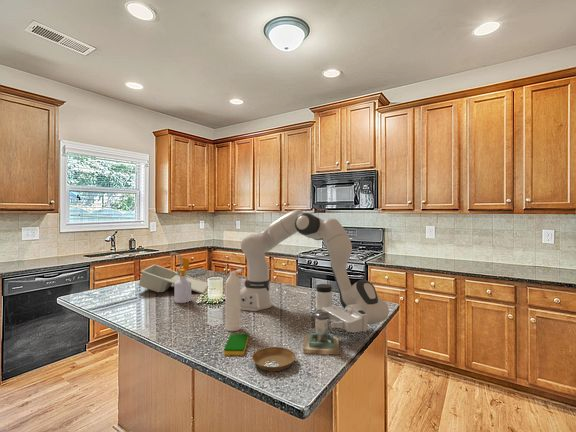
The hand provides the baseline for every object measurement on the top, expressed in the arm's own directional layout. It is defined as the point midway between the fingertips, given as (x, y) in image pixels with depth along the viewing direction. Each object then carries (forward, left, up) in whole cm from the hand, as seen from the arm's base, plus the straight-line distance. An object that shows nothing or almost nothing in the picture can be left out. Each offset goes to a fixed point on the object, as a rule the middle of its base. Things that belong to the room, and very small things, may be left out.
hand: (323, 320), depth 119 cm
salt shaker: (-1, 0, -8) cm, 8 cm away
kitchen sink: (-95, +73, -10) cm, 120 cm away
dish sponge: (-33, -4, -10) cm, 35 cm away
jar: (0, +46, -10) cm, 47 cm away
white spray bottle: (-39, +14, -10) cm, 42 cm away
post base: (-1, 0, -10) cm, 10 cm away
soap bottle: (-79, +49, -10) cm, 93 cm away
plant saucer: (-17, -15, -10) cm, 25 cm away
